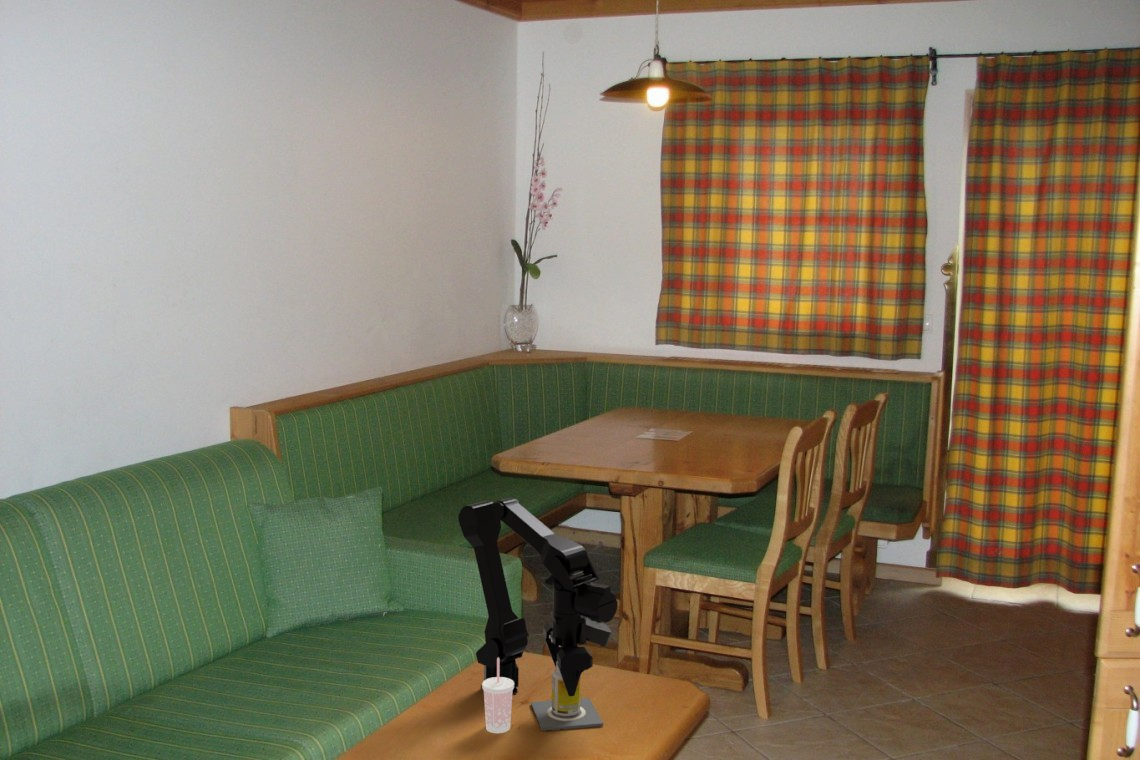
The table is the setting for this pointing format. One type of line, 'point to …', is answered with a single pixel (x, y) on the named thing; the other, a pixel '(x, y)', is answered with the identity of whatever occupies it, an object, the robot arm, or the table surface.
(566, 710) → the supplement bottle
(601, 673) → the table surface
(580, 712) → the card
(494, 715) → the beverage cup
